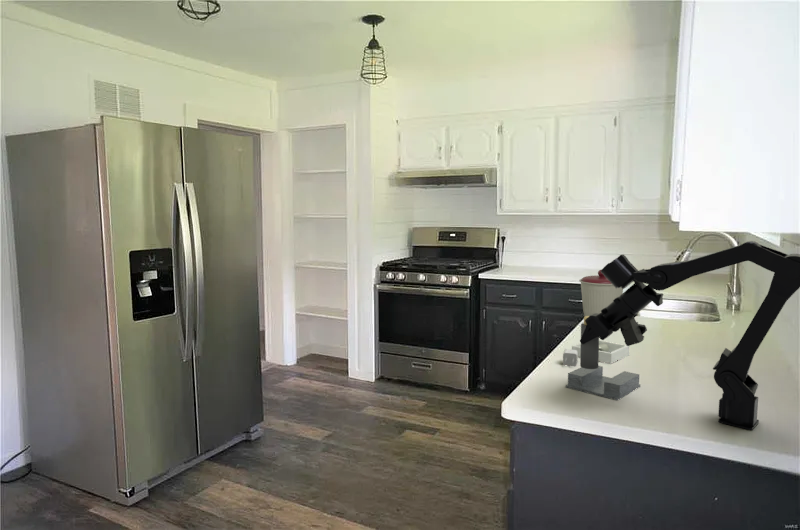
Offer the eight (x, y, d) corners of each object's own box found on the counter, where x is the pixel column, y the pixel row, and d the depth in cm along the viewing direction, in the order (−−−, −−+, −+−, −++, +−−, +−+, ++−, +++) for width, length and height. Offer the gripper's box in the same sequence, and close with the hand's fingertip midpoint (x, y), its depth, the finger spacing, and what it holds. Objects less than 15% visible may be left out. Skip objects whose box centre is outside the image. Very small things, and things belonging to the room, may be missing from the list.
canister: (592, 313, 239) (594, 266, 237) (632, 320, 225) (634, 269, 223) (569, 319, 228) (570, 269, 226) (609, 326, 214) (611, 273, 212)
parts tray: (628, 355, 173) (629, 345, 173) (611, 363, 164) (611, 353, 164) (590, 348, 183) (590, 338, 182) (571, 355, 174) (571, 346, 173)
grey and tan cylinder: (601, 367, 139) (603, 317, 138) (590, 370, 137) (591, 319, 135) (587, 363, 143) (588, 314, 141) (576, 366, 140) (577, 316, 139)
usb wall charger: (577, 362, 166) (577, 350, 166) (576, 369, 160) (576, 356, 159) (563, 361, 168) (564, 348, 167) (562, 367, 161) (562, 354, 161)
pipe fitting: (604, 353, 179) (584, 351, 178) (606, 341, 178) (585, 340, 178) (614, 360, 171) (593, 358, 170) (616, 348, 170) (595, 346, 170)
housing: (640, 386, 144) (640, 373, 144) (617, 400, 134) (618, 386, 134) (590, 375, 154) (590, 362, 154) (565, 387, 144) (566, 374, 144)
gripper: (644, 336, 122) (594, 375, 130) (663, 321, 136) (617, 357, 144) (609, 298, 126) (562, 338, 134) (632, 288, 140) (588, 324, 148)
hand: (584, 340), depth 140 cm, fingers closed on grey and tan cylinder, 4 cm apart
